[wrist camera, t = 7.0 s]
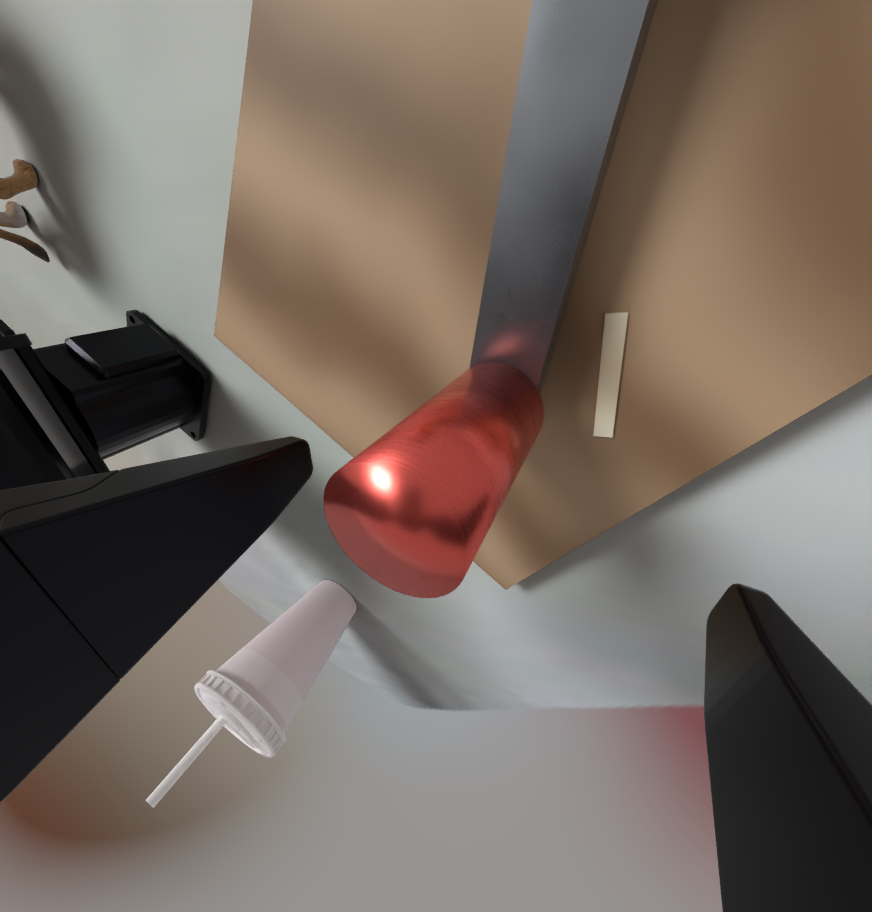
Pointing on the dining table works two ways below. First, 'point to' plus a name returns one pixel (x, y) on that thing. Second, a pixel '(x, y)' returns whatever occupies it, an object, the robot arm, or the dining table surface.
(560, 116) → the lever
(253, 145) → the press board
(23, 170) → the lion figurine
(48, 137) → the dining table surface
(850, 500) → the dining table surface
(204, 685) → the smoothie
